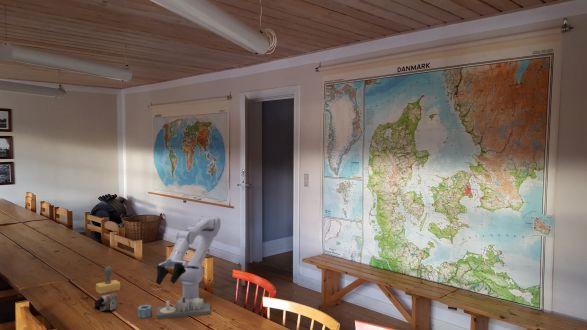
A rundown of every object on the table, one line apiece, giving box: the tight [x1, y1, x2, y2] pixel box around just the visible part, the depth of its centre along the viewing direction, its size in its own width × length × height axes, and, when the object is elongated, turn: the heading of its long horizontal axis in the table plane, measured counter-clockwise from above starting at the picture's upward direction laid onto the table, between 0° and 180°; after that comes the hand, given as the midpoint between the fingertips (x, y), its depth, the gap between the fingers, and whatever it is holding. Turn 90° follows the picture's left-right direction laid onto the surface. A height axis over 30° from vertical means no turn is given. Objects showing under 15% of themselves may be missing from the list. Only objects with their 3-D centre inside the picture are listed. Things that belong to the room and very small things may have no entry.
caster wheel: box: [94, 292, 118, 312], centre depth 187 cm, size 7×11×10 cm
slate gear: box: [136, 304, 153, 319], centre depth 180 cm, size 6×6×4 cm
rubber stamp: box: [95, 266, 121, 295], centre depth 209 cm, size 10×6×12 cm, turn 133°
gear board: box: [155, 297, 211, 320], centre depth 184 cm, size 9×22×7 cm, turn 105°
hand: (165, 282), depth 174 cm, fingers open, 7 cm apart
